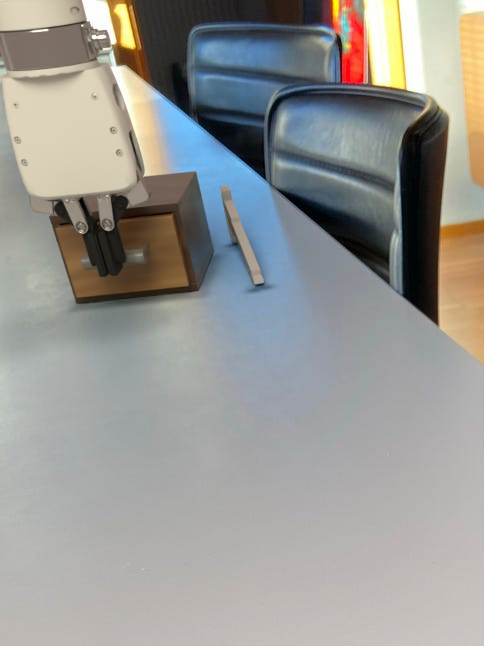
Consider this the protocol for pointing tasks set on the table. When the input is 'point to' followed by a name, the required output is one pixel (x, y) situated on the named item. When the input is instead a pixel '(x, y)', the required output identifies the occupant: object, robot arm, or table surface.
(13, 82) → the robot arm
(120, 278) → the drawer
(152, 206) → the cabinet
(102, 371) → the table surface
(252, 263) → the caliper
